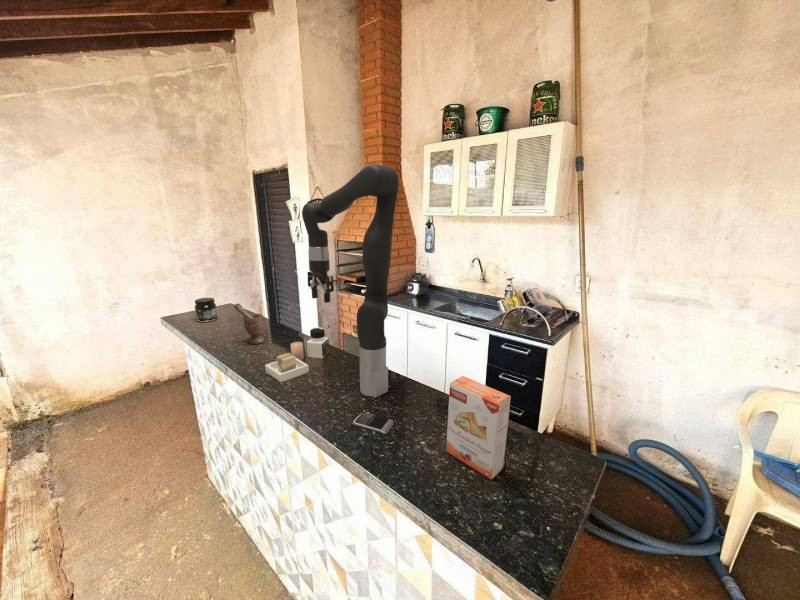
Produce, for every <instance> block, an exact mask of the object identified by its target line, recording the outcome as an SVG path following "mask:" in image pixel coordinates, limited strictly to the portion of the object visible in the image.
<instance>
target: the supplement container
mask: <svg viewBox="0 0 800 600" xmlns="http://www.w3.org/2000/svg"><path fill="white" fill-rule="evenodd" d="M194 304H195V305H194V310H195V316H196V319H195V320H196V321H197V320H200V321H205V320H212V319H215V318H217V319H218V314H217V313H218V312H217V304H216V303H215V298H213V297H201V298H197V299H195V300H194Z"/></svg>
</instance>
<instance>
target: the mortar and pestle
mask: <svg viewBox="0 0 800 600" xmlns="http://www.w3.org/2000/svg"><path fill="white" fill-rule="evenodd" d="M233 309H235V310H236V311H237V312H238V313H239V314H240V315H242V316H243V322H244V328H245V331H246V333H247V334H248V335H250V337H249V338H248V341H247V343H248V344H249V343H250V344H249V345H251V344H255V345H260V344H259V343H261V344H262V342H263V343H264V341H265V342H266V340H265V338H264V336H262V333H263V331H264V325H265V321H264V314H262V313H252V314H251V313H250V314H249V313H248V312H247V311H246V308H244V307H243V306H242V305H241V304H240V303H236V304H234V305H233Z"/></svg>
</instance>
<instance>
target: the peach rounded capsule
mask: <svg viewBox="0 0 800 600" xmlns="http://www.w3.org/2000/svg"><path fill="white" fill-rule="evenodd" d="M290 354H291V355H293V356H295V358H297V359H299V360H301V361H302V362H303V361H304V360H303V359H304V358H305V355H304V354H305V353H304V343H303V342H302V341H294V342H292V343H290Z"/></svg>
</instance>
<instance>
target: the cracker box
mask: <svg viewBox="0 0 800 600" xmlns="http://www.w3.org/2000/svg"><path fill="white" fill-rule="evenodd" d="M511 399H512V397H511V395H508V394H507V393H504V392H502V391H499V390H497V389H495V388H492V387H490V386H487V384H486V385H485V384H483V383H480V382H478V381H476V380H473V379H472V378H469V377H466V376H464V375H461V376H460V377H458V378H456V379H455V380H453V381H451V382H450V383H449V394H448V411H447V413H448V414H447V431H446V447H445V452H446V453H448V454H450V455H452V456H453V457H454V458H456V459H458V460H459V461H461V462H462V463H464V464H465V465H467V466H469V467H470V468H471V469H474V470H475V471H477V472H478V473H480V474H481V475H483V476H484V477H486V478H487V479H489V480H490V481H492V480H493V479H494V478H495V477H496V476H497V475H498V474H499V473H500V472H501V471H502V470H503V469H504V464H505V463H504V462H505V454H506V447H507V445H506V443H507V435H508V427H509V419H510V418H509V417H510V409H511V408H510V406H511Z"/></svg>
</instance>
